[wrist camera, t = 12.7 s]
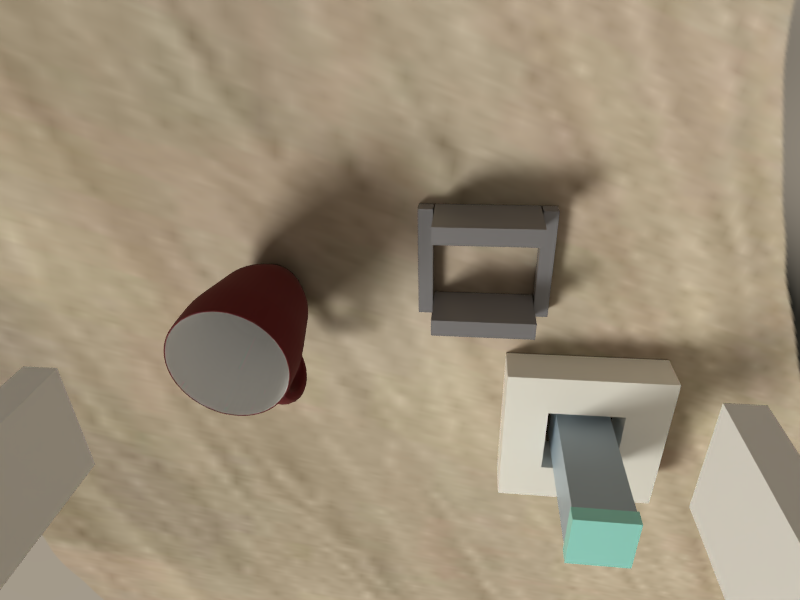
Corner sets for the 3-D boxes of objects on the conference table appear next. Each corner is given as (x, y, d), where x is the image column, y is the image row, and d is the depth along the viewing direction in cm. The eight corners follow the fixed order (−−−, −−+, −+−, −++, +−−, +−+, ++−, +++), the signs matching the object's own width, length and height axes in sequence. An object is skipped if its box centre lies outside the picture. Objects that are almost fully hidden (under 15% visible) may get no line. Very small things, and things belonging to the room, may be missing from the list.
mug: (365, 331, 46) (339, 418, 37) (283, 368, 48) (241, 457, 40) (286, 220, 42) (236, 288, 33) (202, 267, 44) (135, 341, 36)
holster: (419, 203, 40) (413, 226, 36) (557, 205, 39) (565, 230, 35) (420, 305, 44) (415, 334, 40) (545, 309, 43) (551, 340, 39)
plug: (551, 395, 47) (572, 519, 36) (606, 398, 46) (643, 525, 36) (546, 434, 49) (564, 562, 38) (598, 437, 48) (631, 568, 38)
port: (506, 352, 45) (507, 376, 42) (669, 360, 44) (681, 385, 41) (497, 465, 51) (497, 492, 48) (640, 474, 50) (648, 503, 47)
